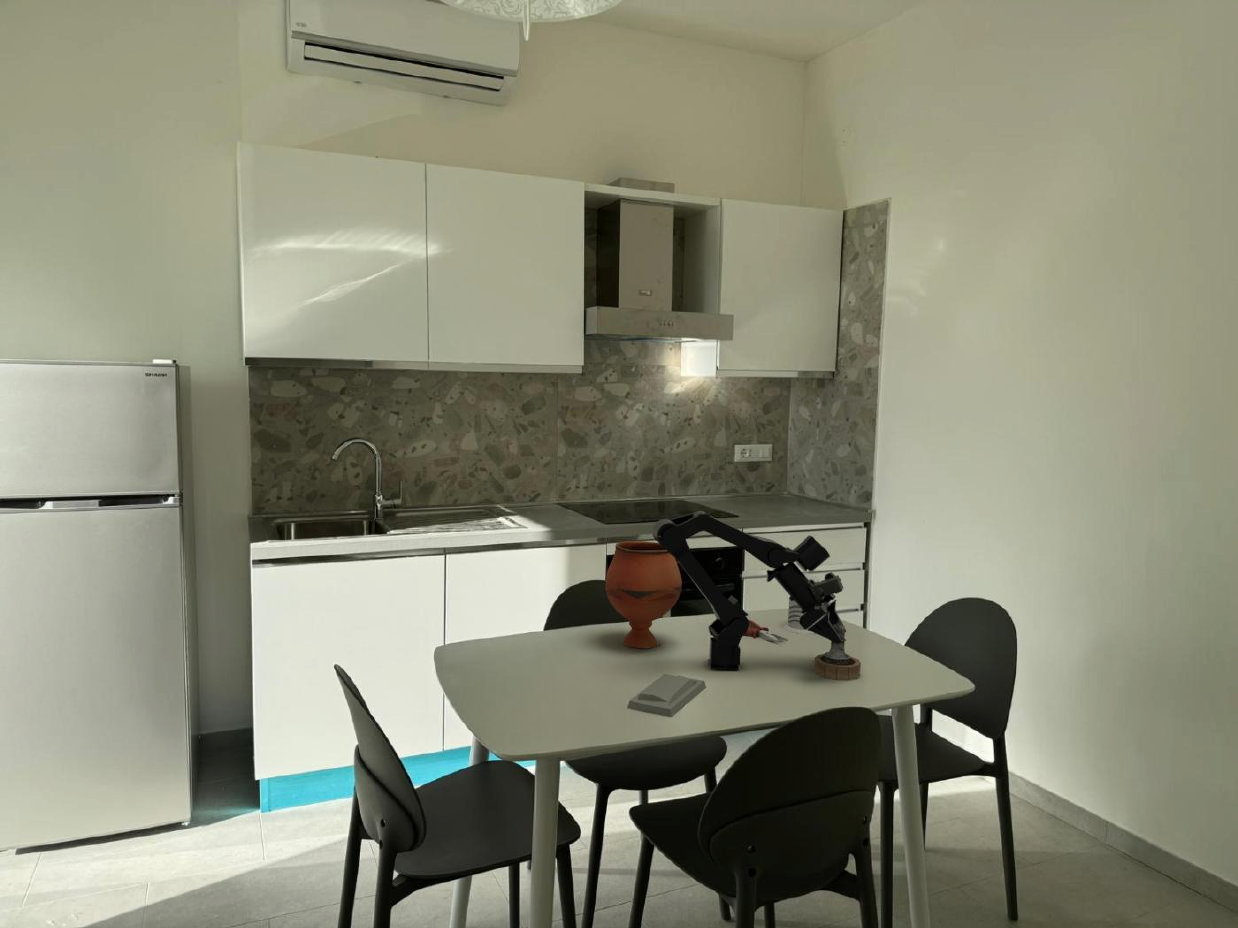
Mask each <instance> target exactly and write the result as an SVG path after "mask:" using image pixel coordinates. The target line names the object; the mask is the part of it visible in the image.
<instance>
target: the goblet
mask: <svg viewBox="0 0 1238 928" xmlns="http://www.w3.org/2000/svg"><path fill="white" fill-rule="evenodd" d="M677 562H678V561H677V559H676V558H675V557H673V556H672V555H671V554H670V553H669V552H668V551H667V550H666V549H665V548H664V547H663V546H661V545H660V544H659V543H658V542H654V541H653V542H652V541H646V540H645V541H644V540H630V541H629V540H625V541H619V542H617V543H616V544H615V550H614V554H613V557H612V560H611V563H610V565H609V567H608V568H607V571H606V577H605V592H606V595H607V599H608V601H609V602H610V604H611V605H612V608H614V609H615V611H617V612H618V613H619V614H620V615H621V616H622V617H623V618H625V620H628V625H629V627H630V628H631V630H630V631H629V632H628V633H627V634H626V635H625V636H624V638H623V640H622V644H623V643H624V644H623V645H625V646H627V647H629V648H634V649H635V648H636V649H652V648H654V646H655V647H657V646H658V642H657V639H656V637H655V636H654V634H653V633H652V632H651V630H650V628H651V627H652V626H653V622H654V621H655V620H659V619H660V618H661V617H663V616H665V615H666V614H667V613H668V612H670V611H671V610H672V609H673V607H674V606H675V605H676V603H677V602H678V600H679V598H680V595H681V592H682V589H683V588H682V587H683V586H682V585H683V581H682V576H681V575H682V574H681V572H680V568H679V566H678V563H677ZM656 645H657V646H656Z"/></svg>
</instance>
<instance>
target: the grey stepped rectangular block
mask: <svg viewBox="0 0 1238 928" xmlns="http://www.w3.org/2000/svg"><path fill="white" fill-rule="evenodd" d="M706 685H707V684H706V682H705V680H703V679H696V678H690V677H686V676H682V675H673V674H665V673H664V674H662V675H661V676H660V677H659V678H657V679H656V680H654V681H653V682H652V683H651V684H649V685H648V686H647V687H645V688H644V689H642V690H641V691H640V692H639V693H637V694H636V695H635V696H634V697H632V698H631V699H630V700H629V701H628V703H627V704H628V705H627V709H630V710H635V711H639V712H645V713H650V714H655V715H660V716H666V717H668V718H669V717H670V718H673V717H674V716H675V715H676V714H677V713H679V712H680V711H681V710H682V709H683V708H684V707H686V706H685V705H686V704H687V705H688V704H689V703H690V702H691V701H693V700H694V699H695V698H696V697H697V696H698V695H700V694H701V693H702V692H703V691H705V690H706V689H707V686H706Z"/></svg>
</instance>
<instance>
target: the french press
mask: <svg viewBox="0 0 1238 928" xmlns="http://www.w3.org/2000/svg"><path fill="white" fill-rule="evenodd" d="M804 540H805V538H804V539H803V541H804ZM803 541H802V542H803ZM802 573H803V574H804V575H805V576H806V577H807V578H808V580H810V579H811V580H812V579H813V580H814V581H815V583H818V582H820V581H821V580H820V579H819V578H818V577H817V576H816V575H814V574H812V573H811V574H810V573H808V572H805V571H803V572H802ZM801 611H802V609H801V608H800V607H799V606H798V604H797V603H796V602H795V601H794V600H793V601H791V600H790V599H789V598H788V614H787V616H788V618H787V623H786V624H785V625H784V626H783V629H785V630H787V631H789V632H792V633H797V634H803V635H804V634H805V635H806V634H811V635H812V634H815V633H814V632H812V631H808V628H809V627H808V628H807V629H806V630H805V629H804V628H803V627H802V626H801V625H800V624H799V623H800V617H801V615H802V613H801Z"/></svg>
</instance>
